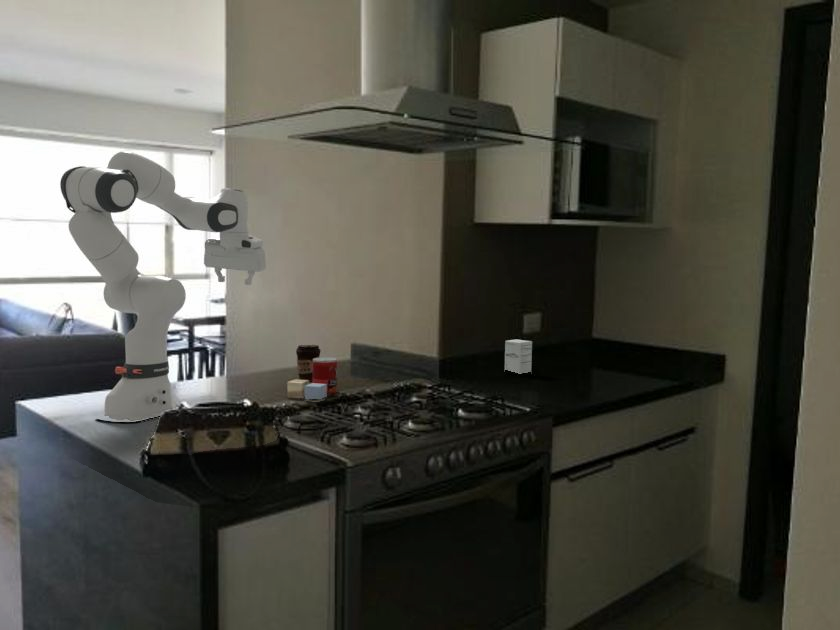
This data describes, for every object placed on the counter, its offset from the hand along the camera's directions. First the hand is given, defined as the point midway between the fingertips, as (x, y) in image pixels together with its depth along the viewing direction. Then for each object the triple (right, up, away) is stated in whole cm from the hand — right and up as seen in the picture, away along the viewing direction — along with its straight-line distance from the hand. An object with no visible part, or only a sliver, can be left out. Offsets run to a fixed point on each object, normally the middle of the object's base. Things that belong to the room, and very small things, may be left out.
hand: (234, 283), depth 241 cm
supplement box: (+96, -33, +40) cm, 109 cm away
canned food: (+28, -36, +4) cm, 46 cm away
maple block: (+21, -36, -3) cm, 42 cm away
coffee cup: (+20, -34, +21) cm, 45 cm away
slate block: (+27, -37, -9) cm, 47 cm away
